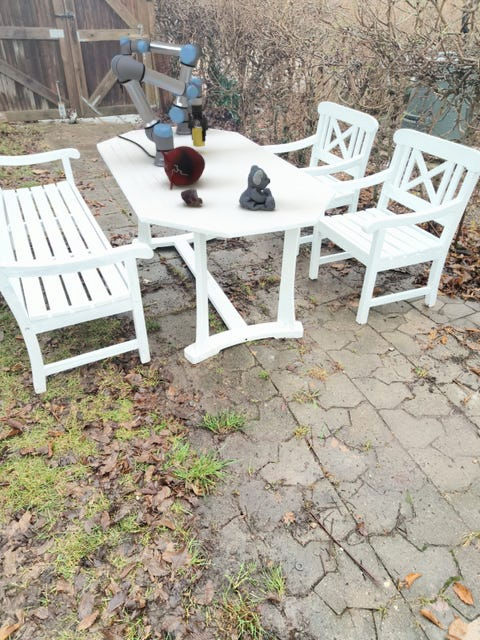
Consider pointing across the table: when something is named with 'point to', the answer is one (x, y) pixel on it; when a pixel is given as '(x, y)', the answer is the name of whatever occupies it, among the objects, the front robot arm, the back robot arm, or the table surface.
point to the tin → (197, 137)
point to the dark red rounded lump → (183, 165)
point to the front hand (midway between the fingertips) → (198, 140)
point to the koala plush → (257, 191)
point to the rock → (191, 197)
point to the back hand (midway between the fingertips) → (131, 93)
